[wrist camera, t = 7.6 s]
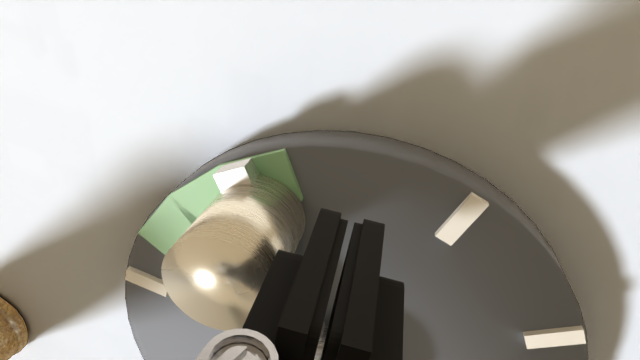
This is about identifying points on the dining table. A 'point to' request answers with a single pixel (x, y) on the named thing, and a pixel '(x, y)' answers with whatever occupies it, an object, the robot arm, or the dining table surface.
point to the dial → (386, 250)
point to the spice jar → (11, 331)
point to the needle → (233, 248)
